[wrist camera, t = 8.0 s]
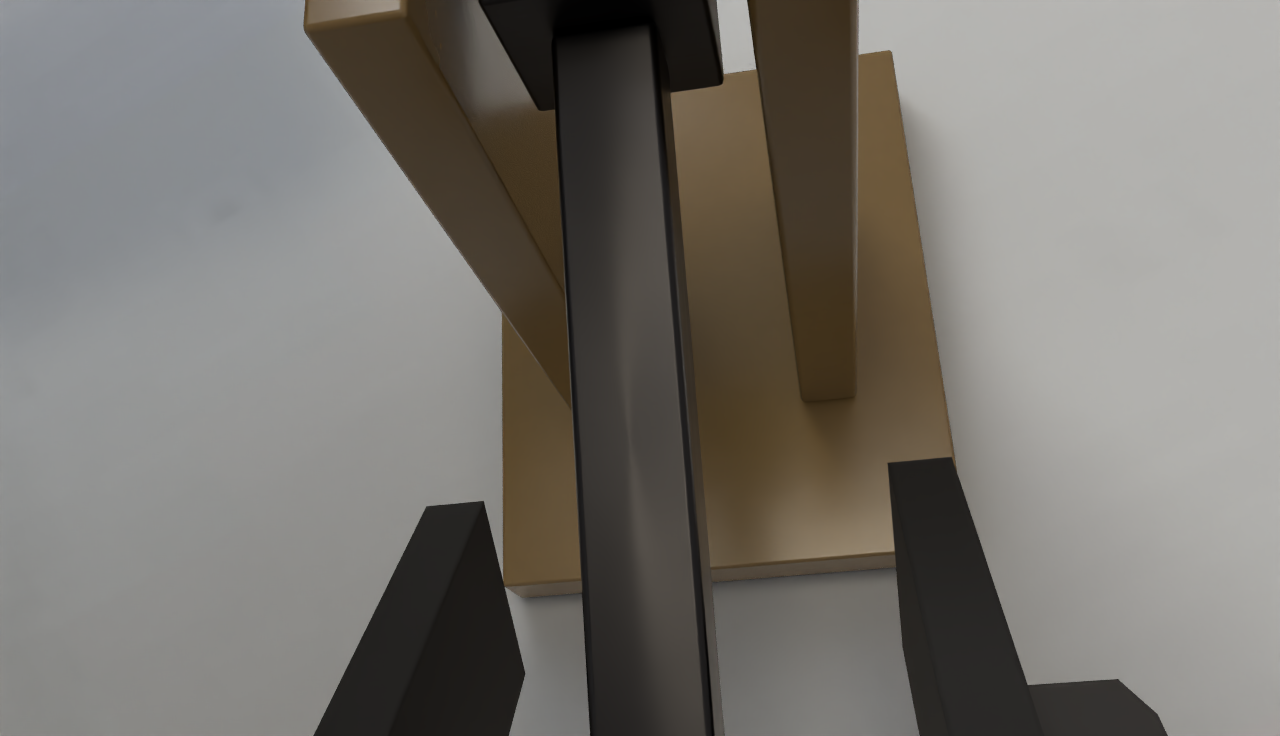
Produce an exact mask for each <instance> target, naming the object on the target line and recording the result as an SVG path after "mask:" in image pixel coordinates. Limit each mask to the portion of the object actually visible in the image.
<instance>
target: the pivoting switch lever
mask: <svg viewBox="0 0 1280 736" xmlns="http://www.w3.org/2000/svg"><path fill="white" fill-rule="evenodd" d="M478 3H479V5H480V6H481V8H482V10H483V12H484V14H485V15H486V17H487V19H488V21H489V23H490V24H491V26H492V28H493V30H494V32H495V33H496V35H497V37H498V39H499V41H500V42H501V44H502V46H503V48H504V50H505V51H506V53H507V55H508V57H509V59H510V60H511V62H512V64H513V66H514V68H515V69H516V71H517V73H518V75H519V77H520V79H521V80H522V82H523V84H524V86H525V88H526V89H527V91H528V93H529V95H530V97H531V98H532V100H533V102H534V104H535V106H536V107H537V109H538V110H539V111H548V110H555V122H556V140H557V158H558V175H559V193H560V211H561V229H562V246H563V264H564V282H565V299H566V317H567V335H568V352H569V370H570V388H571V405H572V423H573V441H574V458H575V476H576V494H577V511H578V529H579V547H580V564H581V582H582V600H583V617H584V635H585V653H586V670H587V688H588V706H589V723H590V736H725V733H724V721H723V710H722V698H721V686H720V674H719V662H718V650H717V638H716V626H715V615H714V603H713V591H712V579H711V567H710V555H709V543H708V532H707V520H706V508H705V496H704V484H703V472H702V460H701V448H700V437H699V425H698V413H697V401H696V389H695V377H694V365H693V353H692V342H691V330H690V318H689V306H688V294H687V282H686V270H685V259H684V247H683V235H682V223H681V211H680V199H679V187H678V175H677V164H676V152H675V140H674V128H673V116H672V104H671V93H673V92H680V91H687V90H694V89H701V88H708V87H715V86H720V85H722V84H723V81H724V74H723V63H722V53H721V43H720V32H719V22H718V12H717V2H716V0H478Z"/></svg>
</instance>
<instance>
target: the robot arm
mask: <svg viewBox="0 0 1280 736" xmlns="http://www.w3.org/2000/svg"><path fill="white" fill-rule="evenodd" d="M888 475H889V487H890V499H891V511H892V524H893V536H894V548H895V560H896V572H897V585H898V597H899V609H900V621H901V633H902V646H903V651H904V657H905V662H906V667H907V672H908V677H909V683H910V688H911V693H912V698H913V704H914V709H915V714H916V719H917V724H918V730H919V735H920V736H1168V735H1167V733H1166V731H1165V729H1164V727H1163V725H1162V723H1161V721H1160V718H1159V716H1158V714H1157V713H1155V712H1154V711H1153V710H1152V709H1151V708H1150V707H1149V706H1148V705H1146V704H1145V703H1144V702H1143V701H1142V700H1141V699H1140V698H1138V697H1137V696H1136V695H1135V694H1134V693H1133V692H1132V691H1131V690H1129V689H1128V688H1127V687H1126V686H1125V685H1124V684H1123V683H1122V682H1120V681H1119V680H1118V679H1114V680H1099V681H1084V682H1069V683H1054V684H1039V685H1027V682H1026V679H1025V676H1024V673H1023V670H1022V667H1021V664H1020V661H1019V658H1018V655H1017V652H1016V649H1015V646H1014V643H1013V640H1012V637H1011V634H1010V631H1009V628H1008V625H1007V622H1006V619H1005V616H1004V613H1003V610H1002V607H1001V604H1000V601H999V598H998V595H997V592H996V589H995V586H994V583H993V580H992V577H991V574H990V571H989V568H988V564H987V561H986V558H985V555H984V552H983V549H982V546H981V543H980V540H979V537H978V534H977V531H976V528H975V525H974V522H973V519H972V516H971V513H970V510H969V507H968V504H967V501H966V498H965V495H964V492H963V489H962V486H961V483H960V480H959V477H958V474H957V471H956V468H955V465H954V462H953V459H952V457H944V458H933V459H922V460H912V461H901V462H891V463H888ZM524 677H525V670H524V666H523V662H522V658H521V653H520V649H519V645H518V641H517V637H516V633H515V629H514V624H513V620H512V616H511V612H510V608H509V604H508V600H507V595H506V591H505V587H504V583H503V579H502V575H501V571H500V567H499V562H498V558H497V554H496V550H495V546H494V542H493V538H492V533H491V529H490V525H489V521H488V517H487V513H486V509H485V505H484V501H479V502H469V503H458V504H448V505H437V506H427V507H426V508H425V511H424V513H423V515H422V517H421V519H420V521H419V523H418V525H417V527H416V529H415V531H414V533H413V535H412V537H411V539H410V541H409V543H408V545H407V547H406V549H405V551H404V553H403V555H402V557H401V559H400V561H399V563H398V565H397V567H396V569H395V571H394V573H393V575H392V577H391V579H390V581H389V584H388V586H387V588H386V590H385V592H384V594H383V596H382V598H381V600H380V602H379V604H378V606H377V608H376V610H375V612H374V614H373V616H372V618H371V620H370V622H369V624H368V626H367V628H366V630H365V632H364V634H363V636H362V638H361V640H360V642H359V644H358V646H357V648H356V650H355V652H354V655H353V657H352V659H351V661H350V663H349V665H348V667H347V669H346V671H345V673H344V675H343V677H342V679H341V681H340V683H339V685H338V687H337V689H336V691H335V693H334V695H333V697H332V699H331V701H330V703H329V705H328V707H327V709H326V711H325V713H324V715H323V717H322V719H321V721H320V723H319V725H318V728H317V730H316V732H315V734H314V736H509V732H510V729H511V725H512V721H513V718H514V714H515V710H516V707H517V703H518V699H519V696H520V692H521V688H522V685H523V681H524Z"/></svg>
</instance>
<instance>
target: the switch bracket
mask: <svg viewBox="0 0 1280 736" xmlns="http://www.w3.org/2000/svg"><path fill="white" fill-rule="evenodd" d="M747 2H748V10H749V17H750V25H751V32H752V40H753V47H754V55H755V62H756V70H750V71H743V72H736V73H729V74H724V81H723V84H722V85H720V86H715V87H708V88H701V89H694V90H687V91H680V92H673V93H671V104H672V116H673V128H674V140H675V152H676V164H677V175H678V187H679V199H680V211H681V223H682V235H683V247H684V259H685V270H686V282H687V294H688V306H689V318H690V330H691V342H692V353H693V365H694V377H695V389H696V401H697V413H698V425H699V437H700V448H701V460H702V472H703V484H704V496H705V508H706V520H707V532H708V543H709V555H710V567H711V579H712V582H721V581H733V580H745V579H758V578H770V577H782V576H794V575H806V574H819V573H831V572H843V571H855V570H868V569H880V568H892V567H896V560H895V548H894V536H893V524H892V511H891V499H890V487H889V475H888V463H891V462H901V461H912V460H922V459H933V458H944V457H952V459H953V462H954V465H955V468H956V461H955V455H954V449H953V442H952V436H951V429H950V423H949V416H948V410H947V404H946V397H945V391H944V384H943V378H942V371H941V365H940V359H939V352H938V346H937V339H936V333H935V326H934V320H933V314H932V307H931V301H930V294H929V288H928V281H927V275H926V269H925V262H924V256H923V249H922V243H921V236H920V230H919V224H918V217H917V211H916V204H915V198H914V191H913V185H912V179H911V172H910V166H909V159H908V153H907V146H906V140H905V134H904V127H903V121H902V114H901V108H900V101H899V95H898V89H897V82H896V76H895V69H894V63H893V56H892V52H891V51H889V50H888V51H881V52H874V53H867V54H860V55H858V28H859V0H747ZM303 26H304V31H305V33H306V35H307V36H308V38H309V39H310V40H311V42H312V43H313V45H314V46H315V48H316V49H317V50H318V52H319V53H320V55H321V56H322V57H323V59H324V60H325V62H326V63H327V65H328V66H329V67H330V69H331V70H332V72H333V73H334V74H335V76H336V77H337V79H338V80H339V82H340V83H341V84H342V86H343V87H344V89H345V90H346V92H347V93H348V94H349V96H350V97H351V99H352V100H353V101H354V103H355V104H356V106H357V107H358V109H359V110H360V111H361V113H362V114H363V116H364V117H365V118H366V120H367V121H368V123H369V124H370V126H371V127H372V128H373V130H374V131H375V133H376V134H377V136H378V137H379V138H380V140H381V141H382V143H383V144H384V145H385V147H386V148H387V150H388V151H389V153H390V154H391V155H392V157H393V158H394V160H395V161H396V162H397V164H398V165H399V167H400V168H401V170H402V171H403V172H404V174H405V175H406V177H407V178H408V180H409V181H410V182H411V184H412V185H413V187H414V188H415V189H416V191H417V192H418V194H419V195H420V197H421V198H422V199H423V201H424V202H425V204H426V205H427V206H428V208H429V209H430V211H431V212H432V214H433V215H434V216H435V218H436V219H437V221H438V222H439V224H440V225H441V226H442V228H443V229H444V231H445V232H446V233H447V235H448V236H449V238H450V239H451V241H452V242H453V243H454V245H455V246H456V248H457V249H458V250H459V252H460V253H461V255H462V256H463V258H464V259H465V260H466V262H467V263H468V265H469V266H470V268H471V269H472V270H473V272H474V273H475V275H476V276H477V277H478V279H479V280H480V282H481V283H482V285H483V286H484V287H485V289H486V290H487V292H488V293H489V294H490V296H491V297H492V299H493V300H494V302H495V303H496V304H497V306H498V307H499V309H500V310H501V312H502V428H503V583H504V587H506V588H508V589H509V590H511V591H512V592H514V593H515V594H517V595H518V596H520V597H522V598H526V597H538V596H550V595H562V594H574V593H582V582H581V564H580V547H579V529H578V511H577V494H576V476H575V458H574V441H573V423H572V405H571V388H570V370H569V352H568V335H567V317H566V299H565V282H564V264H563V246H562V229H561V211H560V193H559V175H558V158H557V140H556V122H555V110H548V111H539V110H538V109H537V107H536V106H535V104H534V102H533V100H532V98H531V97H530V95H529V93H528V91H527V89H526V88H525V86H524V84H523V82H522V80H521V79H520V77H519V75H518V73H517V71H516V69H515V68H514V66H513V64H512V62H511V60H510V59H509V57H508V55H507V53H506V51H505V50H504V48H503V46H502V44H501V42H500V41H499V39H498V37H497V35H496V33H495V32H494V30H493V28H492V26H491V24H490V23H489V21H488V19H487V17H486V15H485V14H484V12H483V10H482V8H481V6H480V5H479V3H478V0H305V11H304V25H303ZM956 471H957V468H956Z"/></svg>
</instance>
